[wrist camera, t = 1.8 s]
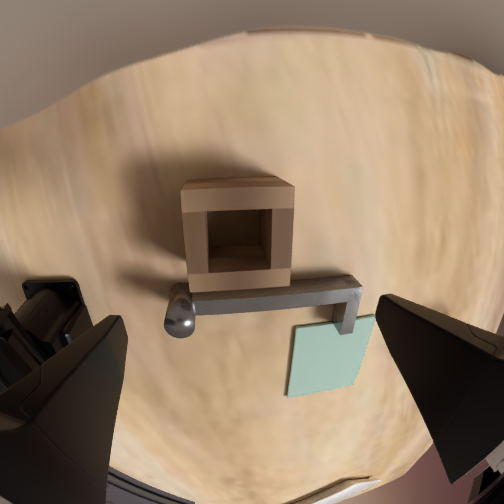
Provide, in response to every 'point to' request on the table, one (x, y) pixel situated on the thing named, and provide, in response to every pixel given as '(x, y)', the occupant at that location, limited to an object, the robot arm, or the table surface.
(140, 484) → the gaming console
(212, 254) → the brown square cubby
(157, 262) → the table surface
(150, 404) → the table surface
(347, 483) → the tray
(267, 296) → the hook
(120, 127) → the table surface
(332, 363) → the pad
